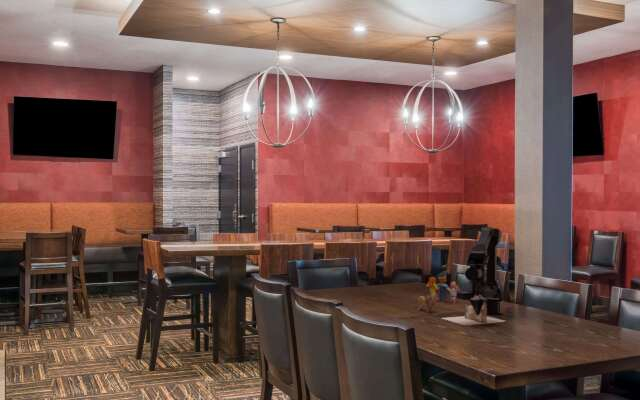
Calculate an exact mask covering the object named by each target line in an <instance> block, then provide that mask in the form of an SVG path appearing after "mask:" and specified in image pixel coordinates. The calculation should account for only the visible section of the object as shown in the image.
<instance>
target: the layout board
mask: <svg viewBox="0 0 640 400" xmlns="http://www.w3.org/2000/svg"><path fill="white" fill-rule="evenodd" d="M440 319H441V320H443V319H444V321H447V320H448V321H447V322H450V321H451V323H455V324H457V325H461V326H472V325H474V326H475V325H482V324H484V325H485V324H493V323H495V324H496V323H506V320H504V319H503V320H502V319H499V318H496V317H491V316H488V315H487V322H481V321H477V320H473V319H469V318H465V315H464V316H463V315H462V316H450V317H449V316H448V317H441V318H440Z"/></svg>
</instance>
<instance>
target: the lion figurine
mask: <svg viewBox="0 0 640 400" xmlns="http://www.w3.org/2000/svg"><path fill="white" fill-rule="evenodd" d="M438 299H439V296H438V297H437V296H436V294H435V293H432V294H430V293H429V294H428V295H426V296H424V295H420V296H419V297H418V299H417V305H415V306H414V309H415V308H416V309H417V311H421V310H422V309H423V307H422V306H425V313H430V312H431V313H432V312H433V310H432V307H433V306H434V305H435V304H436V303H437V302H439V300H438Z"/></svg>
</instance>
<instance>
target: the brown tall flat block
mask: <svg viewBox="0 0 640 400" xmlns="http://www.w3.org/2000/svg"><path fill="white" fill-rule="evenodd" d="M470 306H471V305H469V304H465V305H464V316H465V318H469V319H473V320H477V321H481V322H487V316H488V314H487V309H481V311H480V314H479V315H476V313H475V311H474V309H473V307H470Z"/></svg>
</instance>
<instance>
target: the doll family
mask: <svg viewBox="0 0 640 400" xmlns="http://www.w3.org/2000/svg"><path fill="white" fill-rule="evenodd" d="M446 278H447V276H440V277H437V279H436V277H434V276H430V277H429V279H428V282H427V284H426V285H425V286H426V288H429V292H430V293H429V294H432V293H435V294H436V296H437V297H438V298H439V299H438V302H439V303H441V304H447V301H446V300H447V291H448V292H449V302H448V303H449V304H453V303H455V304H457V301H456V300H457V298H456V294H457V293H458V292H461V289H460V288H459V284H457V283H456V281H451V283H450V285H448V284H447V283H446V282H447V279H446ZM438 294H439V295H438Z"/></svg>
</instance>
